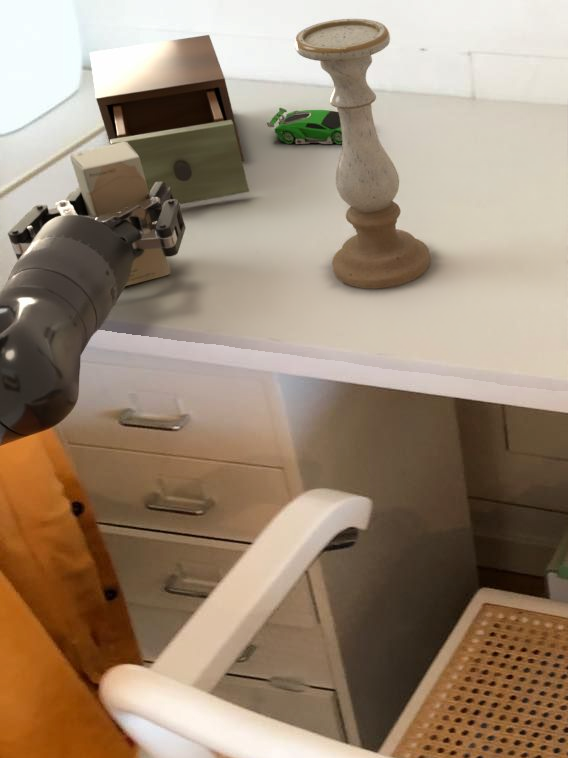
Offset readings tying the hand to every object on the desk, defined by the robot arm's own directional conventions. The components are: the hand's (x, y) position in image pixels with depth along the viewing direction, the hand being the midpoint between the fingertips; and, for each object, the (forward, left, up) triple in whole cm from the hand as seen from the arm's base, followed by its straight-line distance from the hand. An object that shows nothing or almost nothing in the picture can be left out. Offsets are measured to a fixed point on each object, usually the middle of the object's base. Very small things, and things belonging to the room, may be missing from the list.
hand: (125, 193), depth 116 cm
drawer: (+5, +15, -6) cm, 17 cm away
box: (-1, -2, -7) cm, 7 cm away
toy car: (+20, +23, -7) cm, 31 cm away
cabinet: (+5, +27, -6) cm, 28 cm away
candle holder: (+20, -10, -7) cm, 24 cm away
